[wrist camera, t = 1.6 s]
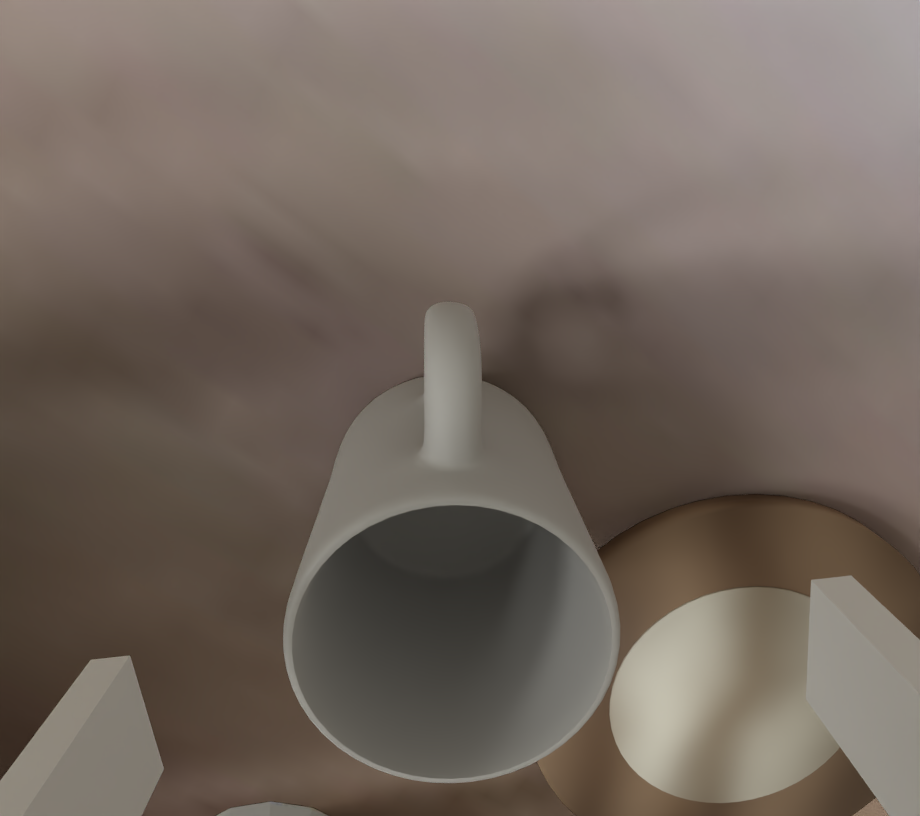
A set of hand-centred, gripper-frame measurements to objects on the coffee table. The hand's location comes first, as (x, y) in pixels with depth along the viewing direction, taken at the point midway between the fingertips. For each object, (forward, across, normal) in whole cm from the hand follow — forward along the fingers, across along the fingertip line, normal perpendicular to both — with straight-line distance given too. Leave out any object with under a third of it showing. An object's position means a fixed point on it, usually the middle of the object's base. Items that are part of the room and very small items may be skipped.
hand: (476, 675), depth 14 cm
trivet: (+14, +10, -13) cm, 22 cm away
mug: (+14, -1, 0) cm, 14 cm away
